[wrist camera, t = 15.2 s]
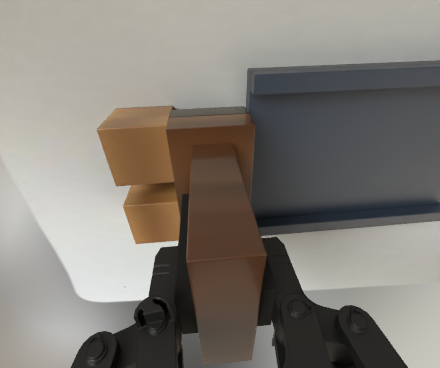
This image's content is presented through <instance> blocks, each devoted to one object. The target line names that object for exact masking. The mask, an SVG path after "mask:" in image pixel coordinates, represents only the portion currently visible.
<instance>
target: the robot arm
mask: <svg viewBox="0 0 440 368" xmlns="http://www.w3.org/2000/svg"><path fill="white" fill-rule="evenodd" d="M188 208H189V194H182V205H181V218H180V230H179V243H178V246H173V247H162V248H160V250H159V252H158V253H157V255H156V256H155V262H154V268H153V276H152V280H151V285H150V291H149V297H148V298H146V299H144V300H143V301H142V302H141V303H140V304H139V305H138V307H137V308H136V310H135V313H134V319H135V321H136V323H135V324H134V325H132V326H130V327H128V328H126V329H124V330H121V331H119V332H117V333H115V334H112V333H110V332H106V331H103V332H98V333H96V334H94V335H92V336H91V337H89V338H88V339H87V340H86V341H85V342H84V343H83V345H82V346H81V348H80V349H79V351H78V353H77V355H76V358H75V360H74V362H73V364H72V366H71V368H184V364H183V349H182V345H181V335H182V333H183V334H189V333H198V328H197V322H196V316H195V310H194V304H193V298H192V292H191V286H190V280H189V275H188V269H187V263H186V256H187V232H188ZM262 241H263V244H264V248H265V251H266V254H267V255H266V263H265V270H264V277H263V284H262V292H261V299H260V306H259V313H258V321H257V326H264V325H270V324H271V321H272V322H273V326H274V330H275V331H274V335H273V339H272V346H275V351H276V358H277V365H278V368H408V367H407V366H406V364H405V363H404V362H403V360H402V359H401V357H400V356H399V354H398V353H397V352H396V350H395V349H394V348H393V346H392V345H391V344H390V342H389V341H388V339H387V338H386V337H385V335H384V334H383V332H382V331H381V330H380V328H379V327H378V325H377V324H376V323H375V321H374V320H373V319H372V317H371V316H369V314H368V313H367V312H365V311H363V310H362V309H361V308H359V307H355V306H352V305H351V306H350V305H349V306H344V307H342V308H341V309H340V310H335V309H331V308H327V307H323V306H320V305H317V304H315V303H314V302H312V301H311V300H309V299H308V298H307V297H306V295H305V294H304V292H303V290H302V288H301V286H300V283H299V281H298V278H297V276H296V273H295V271H294V268H293V266H292V263H291V262H290V259H289V256H288V254H287V251H286V249H285V246H284V244H283V243H282V242H281V241H280V240H279V239H278V238H277V237H273V238H262Z"/></svg>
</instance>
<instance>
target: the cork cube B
mask: <svg viewBox="0 0 440 368" xmlns="http://www.w3.org/2000/svg"><path fill="white" fill-rule="evenodd" d="M123 208H124V211H125V214H126V216H127V219H128V222H129V225H130V228H131V231H132V234H133V237H134V240H135V243H136V244H142V243H154V242H166V241H178V240H179V230H180V214H179V208H178V202H177V196H176V190H175V184H174V182H169V183H154V184H140V185H131V188H130V190H129V193H128V195H127V198H126V200H125V203H124V205H123Z"/></svg>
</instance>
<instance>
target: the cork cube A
mask: <svg viewBox="0 0 440 368" xmlns="http://www.w3.org/2000/svg"><path fill="white" fill-rule="evenodd" d="M172 110H173V106H157V107H137V108H117V109H115V110H114V111H113V113H112V114H111V115H110V116H109V117H108V118H107V119H106V120H105V121H104V122H103V123H102V124H101V125H100V126H99V127H98V128H97V132H98V135H99V138H100V141H101V143H102V146H103V149H104V152H105V155H106V158H107V161H108V164H109V167H110V170H111V173H112V176H113V179H114V181H115V184H116V186H125V185H140V184H154V183H169V182H174V178H173V172H172V166H171V160H170V153H169V147H168V141H167V135H166V127H167V123H168V120H169V118H170V114H171V111H172Z"/></svg>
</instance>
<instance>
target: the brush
mask: <svg viewBox="0 0 440 368" xmlns="http://www.w3.org/2000/svg"><path fill="white" fill-rule="evenodd" d="M166 135H167V141H168V147H169V153H170V160H171V166H172V172H173V178H174V184H175V190H176V196H177V202H178V208H179V214H180V218H181V205H182V194H189V208H188V232H187V256H186V263H187V269H188V275H189V280H190V286H191V292H192V298H193V304H194V310H195V316H196V322H197V328H198V333H199V339H200V345H201V351H202V357H203V363H204V365H211V364H220V363H229V362H238V361H247V360H252V357H253V349H254V342H255V335H256V327H257V321H258V313H259V306H260V299H261V292H262V284H263V277H264V270H265V263H266V255H267V254H266V251H265V248H264V244H263V241H262V238H261V235H260V231H259V228H258V225H257V222H256V218H255V215H254V212H253V209H252V205H251V186H252V171H253V155H254V140H255V123H254V122H253V120H252V118H251V117H250V115H249V114H248V112H247V110H246V109H245V107H244V106H242V107H222V108H202V109H182V110H172V111H171V114H170V118H169V120H168V123H167V127H166Z"/></svg>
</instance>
